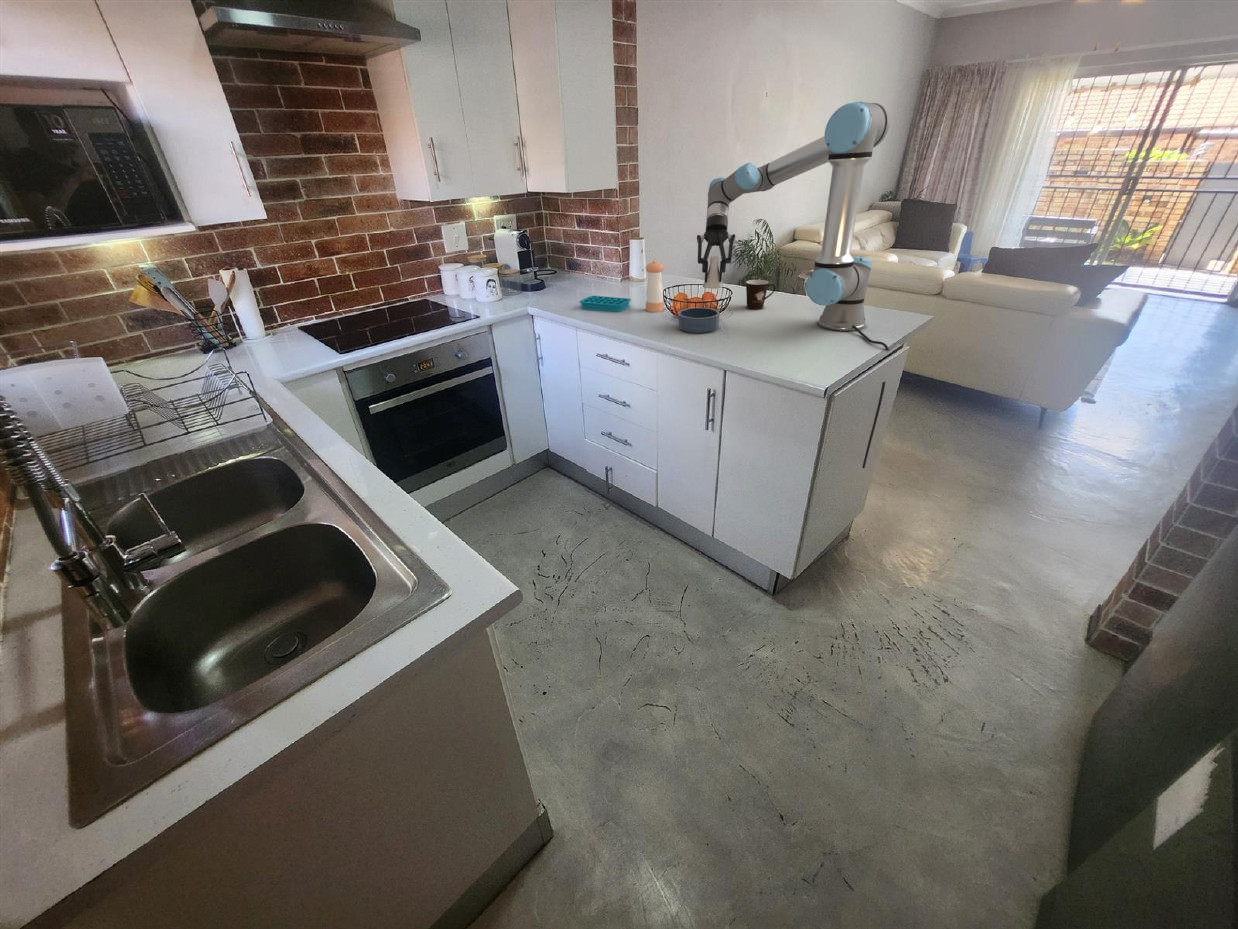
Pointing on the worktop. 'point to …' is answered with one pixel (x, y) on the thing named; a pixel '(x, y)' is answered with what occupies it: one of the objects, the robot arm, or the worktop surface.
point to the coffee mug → (757, 293)
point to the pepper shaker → (654, 287)
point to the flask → (713, 275)
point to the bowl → (698, 320)
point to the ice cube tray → (605, 303)
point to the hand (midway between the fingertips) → (713, 279)
